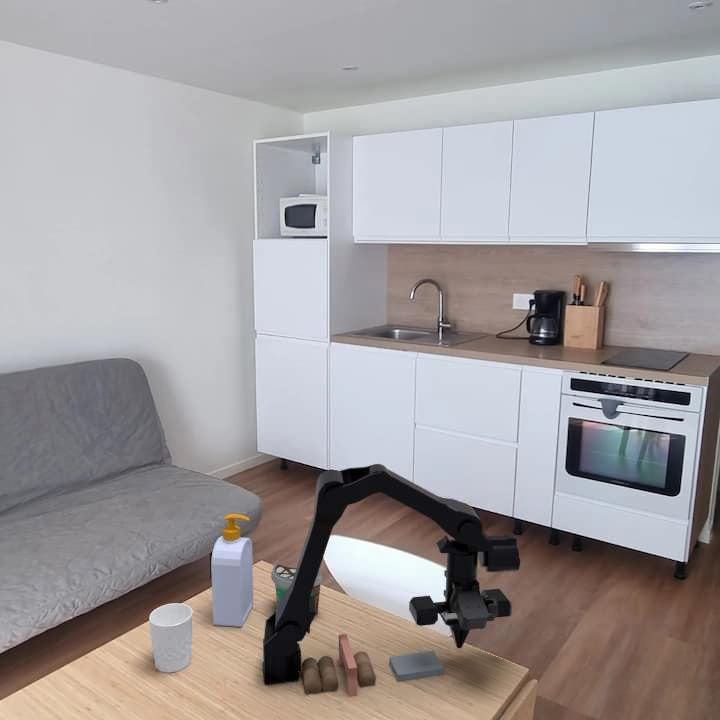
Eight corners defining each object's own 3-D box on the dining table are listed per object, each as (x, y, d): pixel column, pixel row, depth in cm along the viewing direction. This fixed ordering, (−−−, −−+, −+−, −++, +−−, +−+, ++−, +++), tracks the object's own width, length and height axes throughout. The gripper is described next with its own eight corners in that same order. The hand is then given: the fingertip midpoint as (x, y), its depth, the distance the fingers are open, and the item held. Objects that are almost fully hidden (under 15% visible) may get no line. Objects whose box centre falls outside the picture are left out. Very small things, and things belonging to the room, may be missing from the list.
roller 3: (376, 685, 119) (360, 689, 118) (368, 663, 125) (353, 666, 124) (375, 671, 118) (359, 674, 118) (367, 649, 124) (352, 652, 124)
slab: (397, 684, 120) (398, 675, 119) (389, 666, 125) (389, 656, 125) (443, 677, 122) (444, 667, 122) (433, 659, 127) (433, 650, 127)
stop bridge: (348, 696, 116) (348, 668, 115) (338, 660, 126) (338, 634, 125) (356, 695, 116) (357, 667, 115) (346, 659, 126) (346, 633, 125)
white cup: (143, 662, 125) (141, 614, 123) (180, 644, 130) (178, 598, 129) (165, 681, 119) (163, 631, 118) (202, 661, 125) (200, 613, 123)
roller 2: (328, 675, 116) (341, 682, 117) (323, 653, 123) (336, 660, 123) (318, 688, 116) (332, 695, 117) (314, 665, 123) (327, 672, 123)
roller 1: (302, 692, 116) (308, 678, 116) (299, 669, 122) (305, 655, 122) (318, 696, 117) (324, 682, 116) (314, 673, 123) (320, 659, 123)
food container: (260, 614, 141) (259, 571, 140) (276, 601, 147) (276, 559, 145) (308, 630, 136) (308, 585, 134) (323, 615, 141) (323, 572, 140)
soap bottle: (244, 628, 136) (242, 525, 132) (212, 626, 137) (209, 523, 133) (256, 605, 145) (255, 508, 141) (226, 603, 146) (223, 506, 142)
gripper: (427, 598, 112) (424, 680, 115) (527, 588, 116) (522, 667, 119) (409, 568, 123) (407, 643, 126) (501, 559, 127) (497, 632, 130)
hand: (458, 647), depth 125 cm, fingers closed
